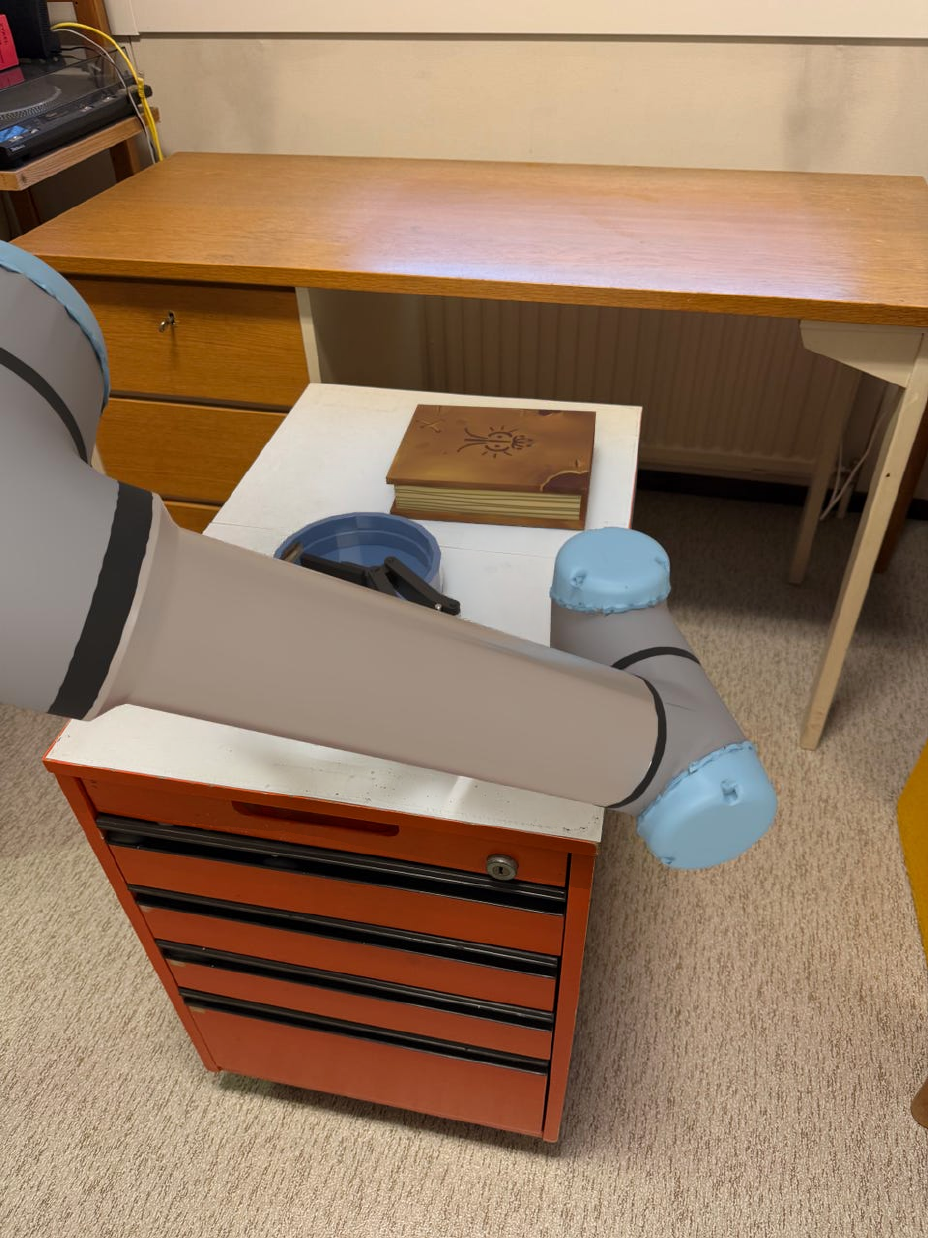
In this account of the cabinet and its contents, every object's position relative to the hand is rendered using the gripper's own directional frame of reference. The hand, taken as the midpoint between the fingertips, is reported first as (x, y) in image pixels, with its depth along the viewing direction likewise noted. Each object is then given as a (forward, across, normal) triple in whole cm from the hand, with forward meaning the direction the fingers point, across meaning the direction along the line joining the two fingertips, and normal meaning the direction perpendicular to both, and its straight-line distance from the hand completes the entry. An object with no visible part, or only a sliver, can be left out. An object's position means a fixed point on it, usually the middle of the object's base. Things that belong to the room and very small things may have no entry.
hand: (260, 610), depth 77 cm
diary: (-4, +41, -10) cm, 43 cm away
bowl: (0, +16, -10) cm, 18 cm away
